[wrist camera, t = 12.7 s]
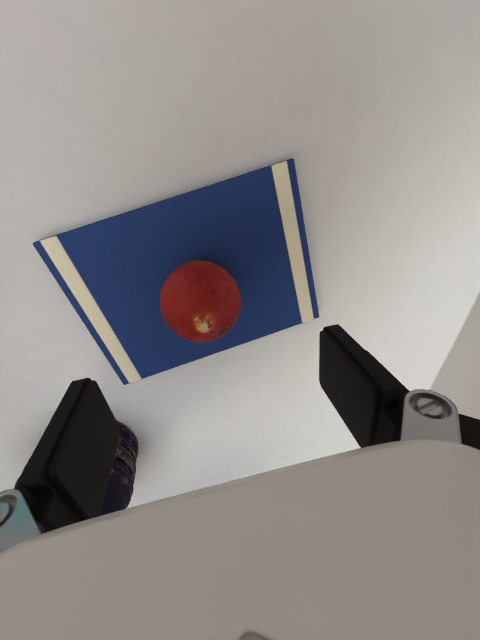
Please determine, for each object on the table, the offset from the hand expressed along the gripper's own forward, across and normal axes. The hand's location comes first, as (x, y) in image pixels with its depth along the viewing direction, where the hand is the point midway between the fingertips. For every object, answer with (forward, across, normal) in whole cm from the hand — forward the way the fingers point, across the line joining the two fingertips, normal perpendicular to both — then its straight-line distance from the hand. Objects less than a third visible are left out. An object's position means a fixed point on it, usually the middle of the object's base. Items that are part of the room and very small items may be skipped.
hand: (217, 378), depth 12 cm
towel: (+14, 0, +1) cm, 14 cm away
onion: (+14, 0, +1) cm, 14 cm away
